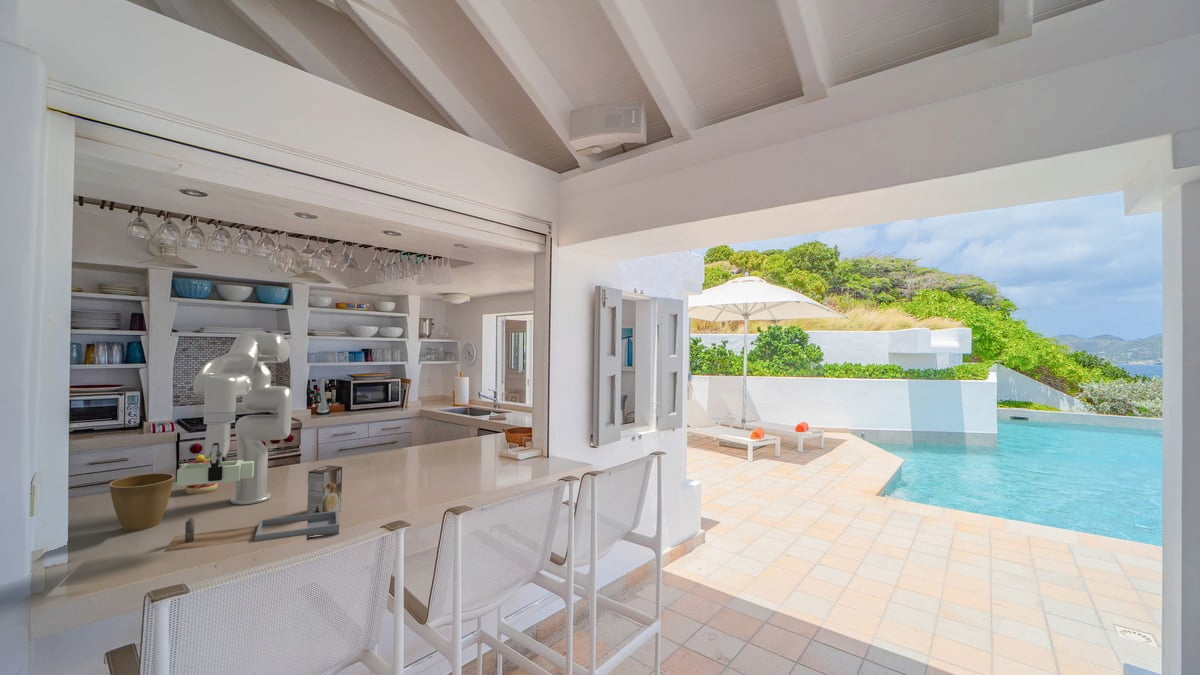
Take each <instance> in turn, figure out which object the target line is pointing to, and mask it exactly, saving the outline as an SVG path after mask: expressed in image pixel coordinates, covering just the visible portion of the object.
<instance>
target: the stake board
mask: <svg viewBox="0 0 1200 675" xmlns="http://www.w3.org/2000/svg"><path fill="white" fill-rule="evenodd" d="M256 528H257V526H248V527H247V526H246V527H240V528H239V527H238V528H231V529H230V528H229V529H222V530H216V531H214V530H213V531H209V532H208V531H206V532H201V533H200V532H198V533H195V520H194V516H191V517H189V518H188V519H187V520H186V521H185V527H184V529H185V531H184V533H185V534H184V535H183V534H182V535H176V536H174V537H173V538H172V539H171V542H169V544H168V545H167V547H166V548H165V549H164V551H163V553H167V552H174V551H181V550H182V551H183V550H189V549H197V548H204V547H212V546H219V545H220V546H221V545H226V544H232V543H233V544H234V543H240V542H247V541H252V539H253V537H254V533H255V531H256Z"/></svg>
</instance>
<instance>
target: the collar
mask: <svg viewBox="0 0 1200 675" xmlns="http://www.w3.org/2000/svg"><path fill="white" fill-rule="evenodd" d="M221 466H223V467H222V480H219V481H208V468H209V462H207V463H193V464H188V463H183V464H182V465H181V466H180V467H179V468H178V469H177V470H176V471H177V472H176V487H183V486H185V487H186V486H187V485H197V484H208V483H218V484H220V483H228V482H229V483H231V482H236V481H239V480H240V479H243V478H252V477H253V474H254V461H246V462H243V460H237V459H236V460H227V461H222V464H221Z"/></svg>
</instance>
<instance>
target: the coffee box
mask: <svg viewBox="0 0 1200 675" xmlns="http://www.w3.org/2000/svg"><path fill="white" fill-rule="evenodd" d="M307 475H308V476H307V479H308V481H307V512H306V514H314V513H323V512H331V511H338V513H340V512H342V492H343V491H342V490H343V489H342V488H343V485H342V484H343V483H342V482H343V466H339V465H324V466H322V467H319V468H315V469H311V470H308V474H307Z"/></svg>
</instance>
